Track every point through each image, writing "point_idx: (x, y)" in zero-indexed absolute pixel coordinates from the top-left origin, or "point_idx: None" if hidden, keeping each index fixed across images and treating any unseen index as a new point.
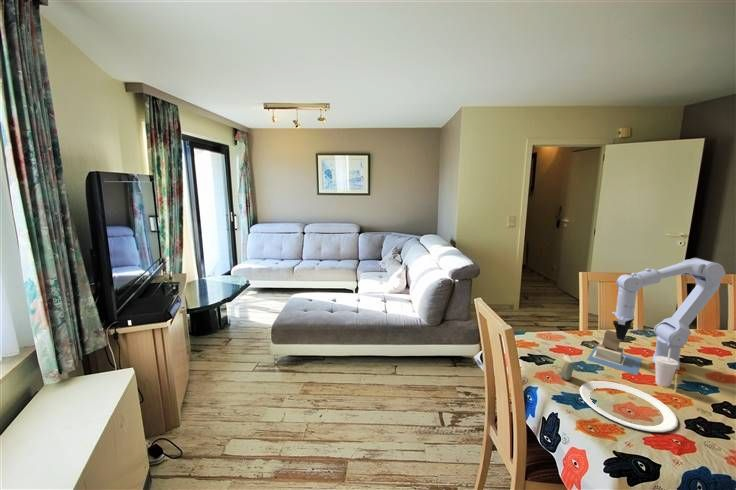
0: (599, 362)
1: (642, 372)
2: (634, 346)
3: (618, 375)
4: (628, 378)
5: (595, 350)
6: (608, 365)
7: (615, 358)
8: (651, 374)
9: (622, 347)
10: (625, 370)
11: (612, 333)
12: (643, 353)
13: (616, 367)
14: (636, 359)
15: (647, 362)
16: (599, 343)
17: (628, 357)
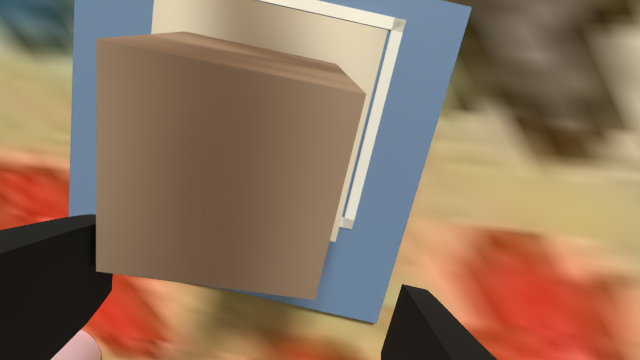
0: (97, 26)
1: (168, 287)
2: (634, 312)
3: (9, 145)
4: (13, 198)
5: (346, 2)
6: (91, 91)
7: None
8: (175, 327)
9: (334, 231)
10: (89, 196)
11: (134, 165)
12: (512, 344)
13: (95, 144)
14: (340, 288)
15: (355, 339)
16: (313, 15)
17: (346, 244)
